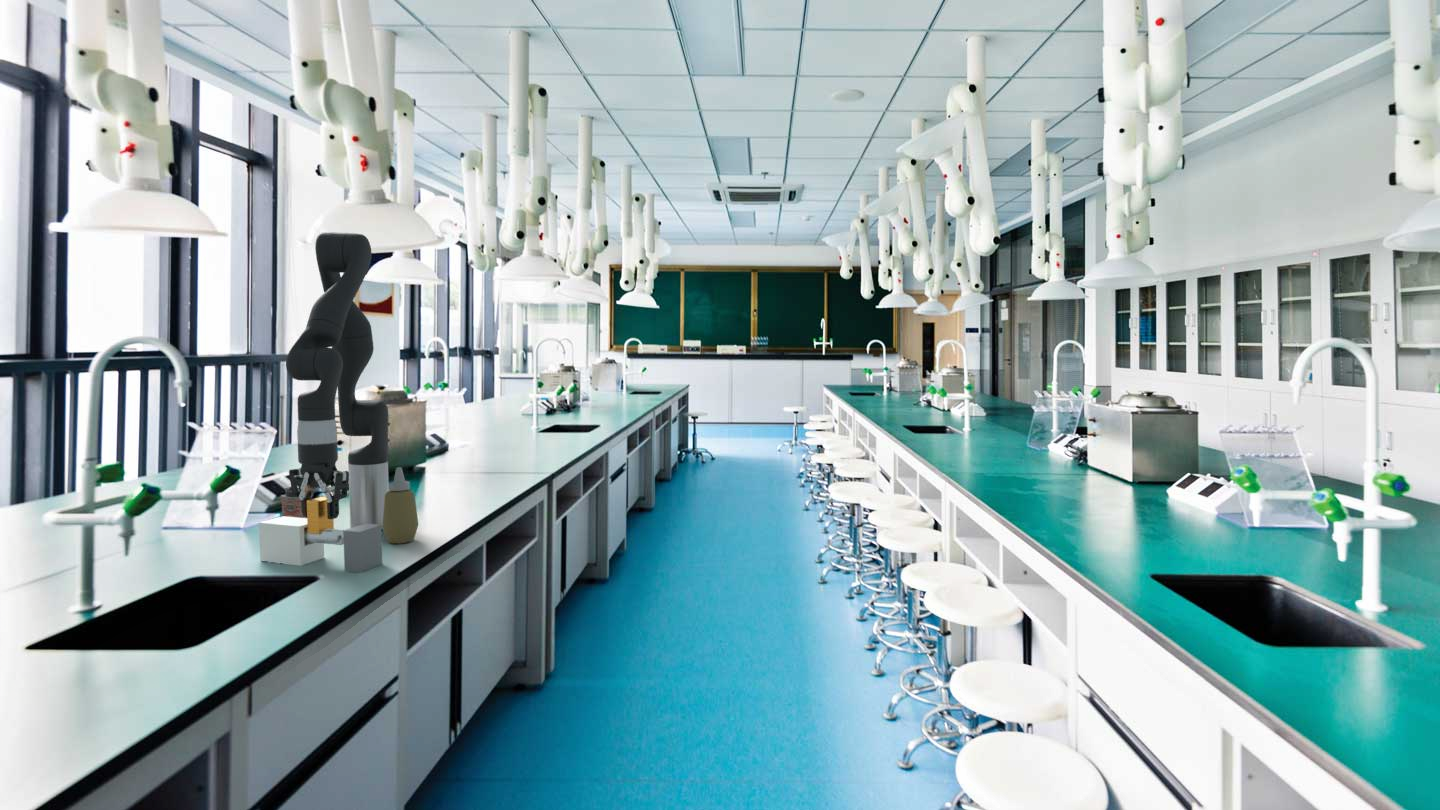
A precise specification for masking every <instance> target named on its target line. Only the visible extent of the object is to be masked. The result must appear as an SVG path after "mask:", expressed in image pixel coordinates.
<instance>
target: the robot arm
mask: <svg viewBox="0 0 1440 810" xmlns="http://www.w3.org/2000/svg"><path fill="white" fill-rule="evenodd" d="M371 247H372V245H371V244H370V241H369V239H368V238H367V236H365V235H364V234H362V233H355V232H333V231H327V232H326V231H325V232H320V233H319V234H318V235H317V236H316V239H315V256H316V258H315V259H316V262H317V267H318V271H319V276H320V280H321V284H322V289H323V293H322V294H321V295H320V297H318V298H317V300H316V301H315V302H314V304H313V305H312V306H311V307H312V308H311V310H310V312H309V316H308V320H307V322H306V326H305V329H304V330H303V331H302V333H301V335H299V337H298V338H297V340H296V341H295V342H294V344H293V345H292V347H291V348H290V350H289V351H288V353H287V356H286V359H285V367H286V372H287V374H288V375H289V376H290V378H292V379H294V380H297V381H320V383H319V386H318V387H317V389H315V390H312V391H306V392H302V393H301V394H299V395H298V396H297V420H298V421H297V430H296V434H297V436H296V437H297V439H296V440H297V456H298V457H297V459H298V463H299V464H301V466H300V467H298V468H293V469H289V471H288V475H289V482H290V487H291V489H292V495H293V496H294V497H296V496H297V497H299V499H300V500H301V507H302V514H303V517H307V501H308V500H312V499H313V496H314V493H315V491H316V490H317V489H320V491H321V493H322V494H324V495H325V497H326V498H327V501H328V502H327V517H328V519H333V520H334V519H337V518H338V516H339V515H340V500H343V499H346V498H348V499H349V525H350V526H349V527H350V528H353V527H357V526H360V525H363V524H376V525H381V531H383V529H382V525H383V513H384V500H385V494H386V493H387V492H389V491H390V490H389V483H390V482H389V457H388V456H389V420H390V419H389V408H388V405H387V403H386V402H385V400H382V399H381V400H380V399H365V400H363V399H356V386H357V384H358V381H359V380H360V377H361V376H362V374H363V372H364V370H365V369H366V368H367V365H368V364H369V362H370V361H371V359H372V356H373V354H374V347H375V346H374V341H373V340H374V339H373V332H372V326H371V323H370V321H369V319H368V318H367V316H366V315H365V313H364V312H363V311H362V310H361V308H359V306H358V305H357V303H355V301H354V299H355V297H356V295H357V293H358V292H359V290H360V287H361V286H362V283H363V282H364V280H365V277H366V275H367V273H368V271H369V268H370V266H371V262H372V254H373V253H372V248H371ZM341 273H343V274H342V275H341ZM336 396H337V399H338V400H337V401H338V402H337V403H338V414H339V415H338V417H339V424H340V429H341V431H342V432H343V434H344V435H345V436H348V437H371V441H370V443H368V444H367V445H365V446H363V447H359V448H357V449H354V450H352V451H350V452H349V453H348V454H347V456H348V457H347V460H348V461H347V463H348V466H347V467H348V470H344V471H341V470H338V469H337V467H336V466H337V465H336V463H337V461H338V459H339V451H338V450H339V449H338V448H339V447H338V427H337V423H336V407H335V406H336ZM297 487H299V490H298V488H297ZM348 492H349V493H348ZM348 495H349V497H348ZM350 528H349V529H350Z"/></svg>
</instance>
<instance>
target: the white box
mask: <svg viewBox="0 0 1440 810" xmlns="http://www.w3.org/2000/svg"><path fill="white" fill-rule="evenodd" d="M305 527H308V523H307V518H298V517H287V516H279V517H275V518H272V519H267V520H263V521H259V522H258V537H259V538H258V539H259V559H260V560H259V561H260V562H262V561H268V562H267V563H271V562H276V563H275V564H280V563H283V565H291V566H299V567H301V566H305V565H307V564H309V563H314V562H316V561H320V560H322V559H324V558H325V544H324V543H314V542H304V528H305Z"/></svg>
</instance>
